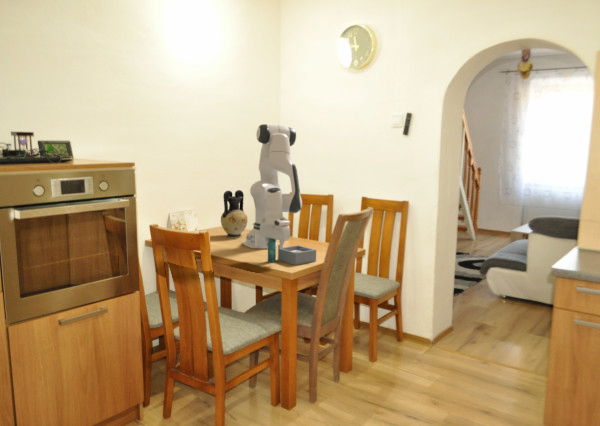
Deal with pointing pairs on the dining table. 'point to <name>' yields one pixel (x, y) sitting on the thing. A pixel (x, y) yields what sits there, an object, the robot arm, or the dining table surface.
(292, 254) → the box
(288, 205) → the robot arm
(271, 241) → the peg
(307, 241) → the dining table surface
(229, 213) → the amphora
